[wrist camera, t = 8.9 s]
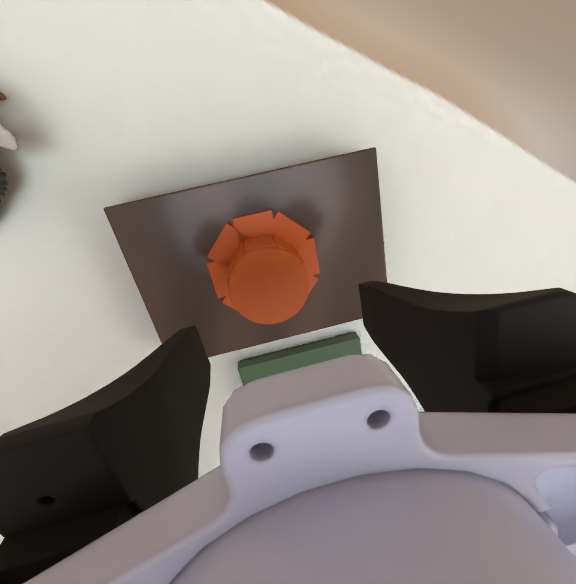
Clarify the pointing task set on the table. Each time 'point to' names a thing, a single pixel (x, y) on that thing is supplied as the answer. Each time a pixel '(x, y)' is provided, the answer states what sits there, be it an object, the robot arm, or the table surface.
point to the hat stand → (299, 357)
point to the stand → (220, 210)
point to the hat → (264, 266)
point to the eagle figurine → (7, 140)
